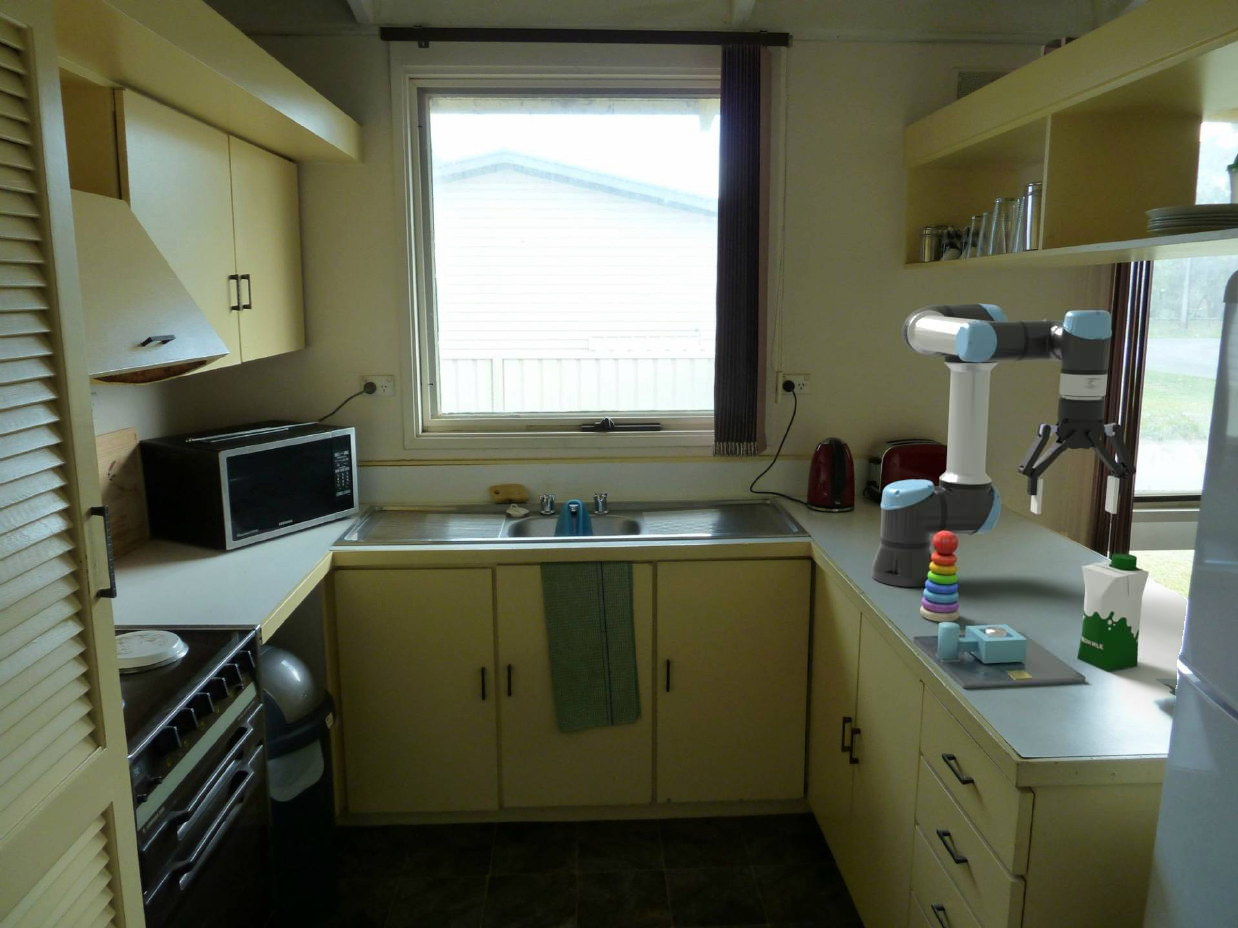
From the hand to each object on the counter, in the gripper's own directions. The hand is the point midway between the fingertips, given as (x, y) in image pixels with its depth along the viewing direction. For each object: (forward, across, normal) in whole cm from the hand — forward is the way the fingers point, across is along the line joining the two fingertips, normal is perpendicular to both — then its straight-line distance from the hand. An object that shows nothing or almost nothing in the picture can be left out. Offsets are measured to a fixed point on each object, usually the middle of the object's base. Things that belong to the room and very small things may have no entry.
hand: (1073, 512), depth 168 cm
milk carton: (+28, +6, -4) cm, 29 cm away
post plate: (+27, -14, -4) cm, 31 cm away
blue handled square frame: (+26, -18, -4) cm, 32 cm away
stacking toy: (+28, -17, +20) cm, 38 cm away
